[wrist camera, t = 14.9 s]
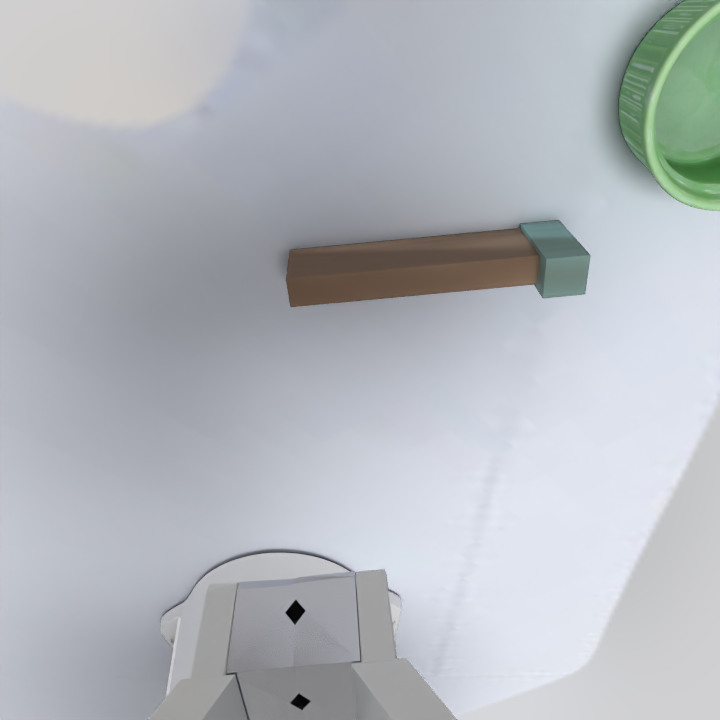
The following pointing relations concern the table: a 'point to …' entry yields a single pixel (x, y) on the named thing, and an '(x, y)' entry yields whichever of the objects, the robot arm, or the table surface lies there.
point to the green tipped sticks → (441, 265)
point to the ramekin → (677, 103)
